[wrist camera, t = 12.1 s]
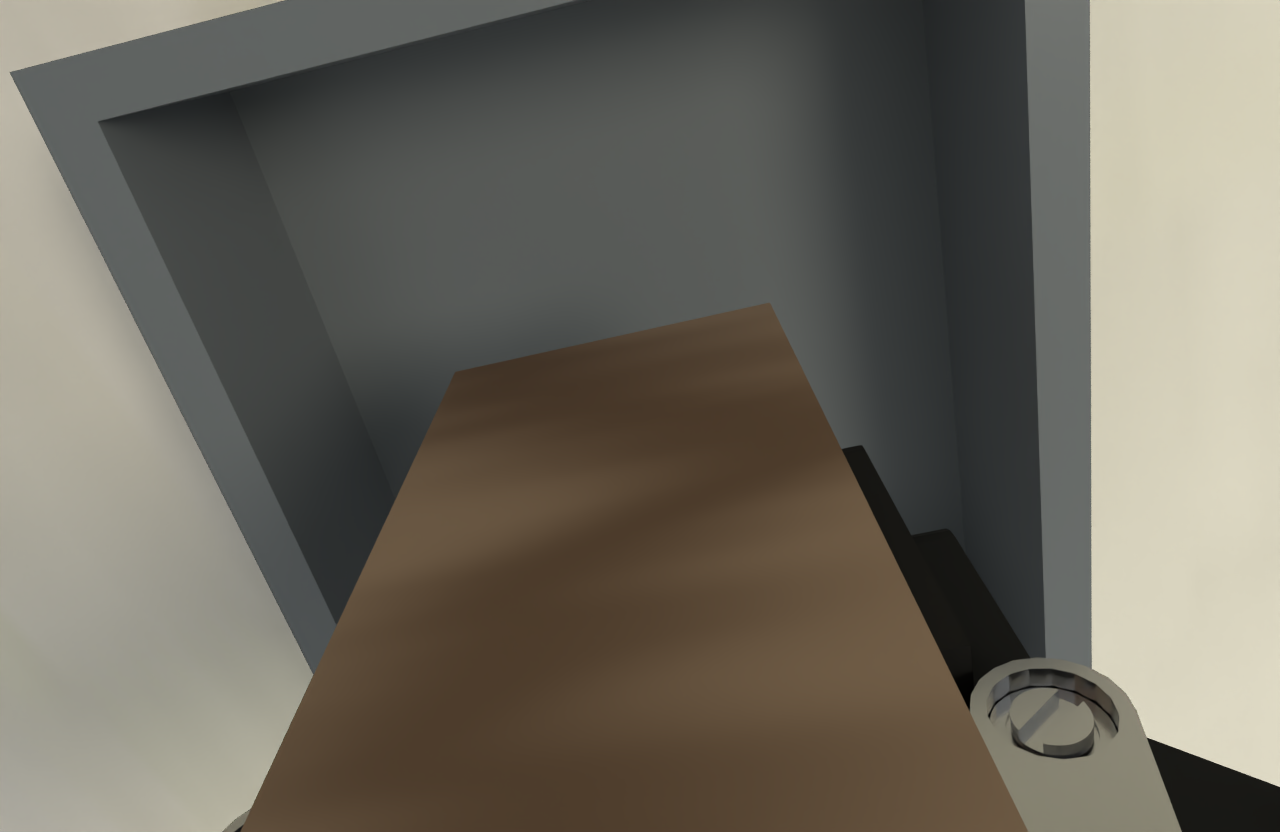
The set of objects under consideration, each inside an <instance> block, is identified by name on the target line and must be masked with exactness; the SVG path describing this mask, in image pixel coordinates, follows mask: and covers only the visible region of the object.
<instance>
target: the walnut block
mask: <svg viewBox="0 0 1280 832" xmlns="http://www.w3.org/2000/svg"><path fill="white" fill-rule="evenodd" d="M240 832H1028V830H1027V828H1026V826H1025V824H1024V822H1023V820H1022V818H1021V816H1020V814H1019V812H1018V810H1017V808H1016V806H1015V804H1014V802H1013V800H1012V797H1011V795H1010V793H1009V791H1008V789H1007V787H1006V785H1005V783H1004V781H1003V779H1002V777H1001V775H1000V773H999V771H998V769H997V767H996V765H995V763H994V761H993V759H992V757H991V754H990V752H989V750H988V748H987V746H986V744H985V742H984V740H983V738H982V736H981V734H980V732H979V730H978V728H977V726H976V724H975V722H974V720H973V718H972V716H971V713H970V711H969V709H968V707H967V705H966V703H965V701H964V699H963V697H962V695H961V693H960V691H959V689H958V687H957V685H956V683H955V681H954V679H953V677H952V675H951V673H950V670H949V668H948V666H947V664H946V662H945V660H944V658H943V656H942V654H941V652H940V650H939V648H938V646H937V644H936V642H935V640H934V638H933V636H932V634H931V632H930V629H929V627H928V625H927V623H926V621H925V619H924V617H923V615H922V613H921V611H920V609H919V607H918V605H917V603H916V601H915V599H914V597H913V595H912V593H911V591H910V589H909V586H908V584H907V582H906V580H905V578H904V576H903V574H902V572H901V570H900V568H899V566H898V564H897V562H896V560H895V558H894V556H893V554H892V552H891V550H890V548H889V546H888V543H887V541H886V539H885V537H884V535H883V533H882V531H881V529H880V527H879V525H878V523H877V521H876V519H875V517H874V515H873V513H872V511H871V509H870V507H869V505H868V502H867V500H866V498H865V496H864V494H863V492H862V490H861V488H860V486H859V484H858V482H857V480H856V478H855V476H854V474H853V472H852V470H851V468H850V466H849V464H848V462H847V459H846V457H845V455H844V453H843V451H842V449H841V447H840V445H839V443H838V441H837V439H836V437H835V435H834V433H833V431H832V429H831V427H830V425H829V423H828V421H827V419H826V416H825V414H824V412H823V410H822V408H821V406H820V404H819V402H818V400H817V398H816V396H815V394H814V392H813V390H812V388H811V386H810V384H809V382H808V380H807V378H806V375H805V373H804V371H803V369H802V367H801V365H800V363H799V361H798V359H797V357H796V355H795V353H794V351H793V349H792V347H791V345H790V343H789V341H788V339H787V337H786V335H785V332H784V330H783V328H782V326H781V324H780V322H779V320H778V318H777V316H776V314H775V312H774V310H773V308H772V306H771V304H770V303H765V304H761V305H756V306H752V307H747V308H743V309H738V310H734V311H729V312H725V313H720V314H716V315H711V316H706V317H702V318H697V319H693V320H688V321H684V322H679V323H675V324H670V325H666V326H661V327H657V328H652V329H647V330H643V331H638V332H634V333H629V334H625V335H620V336H616V337H611V338H607V339H602V340H598V341H593V342H588V343H584V344H579V345H575V346H570V347H566V348H561V349H557V350H552V351H548V352H543V353H539V354H534V355H529V356H525V357H520V358H516V359H511V360H507V361H502V362H498V363H493V364H489V365H484V366H480V367H475V368H470V369H466V370H461V371H457V372H455V373H454V375H453V378H452V380H451V382H450V384H449V386H448V388H447V390H446V393H445V395H444V397H443V399H442V401H441V403H440V405H439V408H438V410H437V412H436V414H435V416H434V418H433V420H432V423H431V425H430V427H429V429H428V431H427V433H426V435H425V438H424V440H423V442H422V444H421V446H420V448H419V450H418V453H417V455H416V457H415V459H414V461H413V463H412V465H411V468H410V470H409V472H408V474H407V476H406V478H405V480H404V483H403V485H402V487H401V489H400V491H399V493H398V495H397V497H396V500H395V502H394V504H393V506H392V508H391V510H390V512H389V515H388V517H387V519H386V521H385V523H384V525H383V527H382V530H381V532H380V534H379V536H378V538H377V540H376V542H375V545H374V547H373V549H372V551H371V553H370V555H369V557H368V560H367V562H366V564H365V566H364V568H363V570H362V572H361V575H360V577H359V579H358V581H357V583H356V585H355V587H354V590H353V592H352V594H351V596H350V598H349V600H348V602H347V605H346V607H345V609H344V611H343V613H342V615H341V617H340V620H339V622H338V624H337V626H336V628H335V630H334V632H333V635H332V637H331V639H330V641H329V643H328V645H327V647H326V649H325V652H324V654H323V656H322V658H321V660H320V662H319V664H318V667H317V669H316V671H315V673H314V675H313V677H312V679H311V682H310V684H309V686H308V688H307V690H306V692H305V694H304V697H303V699H302V701H301V703H300V705H299V707H298V709H297V712H296V714H295V716H294V718H293V720H292V722H291V724H290V727H289V729H288V731H287V733H286V735H285V737H284V739H283V742H282V744H281V746H280V748H279V750H278V752H277V754H276V757H275V759H274V761H273V763H272V765H271V767H270V769H269V772H268V774H267V776H266V778H265V780H264V782H263V784H262V787H261V789H260V791H259V793H258V795H257V797H256V799H255V801H254V804H253V806H252V808H251V810H250V812H249V814H248V816H247V819H246V821H245V823H244V825H243V827H242V829H241V831H240Z"/></svg>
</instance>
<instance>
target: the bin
mask: <svg viewBox="0 0 1280 832" xmlns="http://www.w3.org/2000/svg"><path fill="white" fill-rule="evenodd" d="M10 74H11V76H12V78H13V80H14V82H15V84H16V86H17V88H18V90H19V92H20V94H21V96H22V98H23V100H24V102H25V104H26V106H27V108H28V110H29V112H30V114H31V115H32V117H33V119H34V121H35V123H36V125H37V127H38V129H39V131H40V133H41V135H42V137H43V139H44V141H45V143H46V145H47V147H48V149H49V151H50V153H51V155H52V157H53V159H54V161H55V163H56V165H57V167H58V169H59V171H60V173H61V175H62V177H63V179H64V181H65V183H66V185H67V187H68V189H69V191H70V193H71V195H72V197H73V199H74V201H75V203H76V205H77V207H78V209H79V211H80V213H81V215H82V217H83V219H84V221H85V223H86V225H87V227H88V229H89V230H90V232H91V234H92V236H93V238H94V240H95V242H96V244H97V246H98V248H99V250H100V252H101V254H102V256H103V258H104V260H105V262H106V264H107V266H108V268H109V270H110V272H111V274H112V276H113V278H114V280H115V282H116V284H117V286H118V288H119V290H120V292H121V294H122V296H123V298H124V300H125V302H126V304H127V306H128V308H129V310H130V312H131V314H132V316H133V318H134V320H135V322H136V324H137V326H138V328H139V330H140V332H141V334H142V336H143V338H144V340H145V342H146V344H147V345H148V347H149V349H150V351H151V353H152V355H153V357H154V359H155V361H156V363H157V365H158V367H159V369H160V371H161V373H162V375H163V377H164V379H165V381H166V383H167V385H168V387H169V389H170V391H171V393H172V395H173V397H174V399H175V401H176V403H177V405H178V407H179V409H180V411H181V413H182V415H183V417H184V419H185V421H186V423H187V425H188V427H189V429H190V431H191V433H192V435H193V437H194V439H195V441H196V443H197V445H198V447H199V449H200V451H201V453H202V455H203V457H204V459H205V460H206V462H207V464H208V466H209V468H210V470H211V472H212V474H213V476H214V478H215V480H216V482H217V484H218V486H219V488H220V490H221V492H222V494H223V496H224V498H225V500H226V502H227V504H228V506H229V508H230V510H231V512H232V514H233V516H234V518H235V520H236V522H237V524H238V526H239V528H240V530H241V532H242V534H243V536H244V538H245V540H246V542H247V544H248V546H249V548H250V550H251V552H252V554H253V556H254V558H255V560H256V562H257V564H258V566H259V568H260V570H261V572H262V574H263V575H264V577H265V579H266V581H267V583H268V585H269V587H270V589H271V591H272V593H273V595H274V597H275V599H276V601H277V603H278V605H279V607H280V609H281V611H282V613H283V615H284V617H285V619H286V621H287V623H288V625H289V627H290V629H291V631H292V633H293V635H294V637H295V639H296V641H297V643H298V645H299V647H300V649H301V651H302V653H303V655H304V657H305V659H306V661H307V663H308V665H309V667H310V669H311V671H312V673H313V675H314V673H315V671H316V669H317V667H318V664H319V662H320V660H321V658H322V656H323V654H324V652H325V649H326V647H327V645H328V643H329V641H330V639H331V637H332V635H333V632H334V630H335V628H336V626H337V624H338V622H339V620H340V617H341V615H342V613H343V611H344V609H345V607H346V605H347V602H348V600H349V598H350V596H351V594H352V592H353V590H354V587H355V585H356V583H357V581H358V579H359V577H360V575H361V572H362V570H363V568H364V566H365V564H366V562H367V560H368V557H369V555H370V553H371V551H372V549H373V547H374V545H375V542H376V540H377V538H378V536H379V534H380V532H381V530H382V527H383V525H384V523H385V521H386V519H387V517H388V515H389V512H390V510H391V508H392V506H393V504H394V502H395V500H396V497H397V495H398V493H399V491H400V489H401V487H402V485H403V483H404V480H405V478H406V476H407V474H408V472H409V470H410V468H411V465H412V463H413V461H414V459H415V457H416V455H417V453H418V450H419V448H420V446H421V444H422V442H423V440H424V438H425V435H426V433H427V431H428V429H429V427H430V425H431V423H432V420H433V418H434V416H435V414H436V412H437V410H438V408H439V405H440V403H441V401H442V399H443V397H444V395H445V393H446V390H447V388H448V386H449V384H450V382H451V380H452V378H453V375H454V373H455V372H457V371H461V370H466V369H470V368H475V367H480V366H484V365H489V364H493V363H498V362H502V361H507V360H511V359H516V358H520V357H525V356H529V355H534V354H539V353H543V352H548V351H552V350H557V349H561V348H566V347H570V346H575V345H579V344H584V343H588V342H593V341H598V340H602V339H607V338H611V337H616V336H620V335H625V334H629V333H634V332H638V331H643V330H647V329H652V328H657V327H661V326H666V325H670V324H675V323H679V322H684V321H688V320H693V319H697V318H702V317H706V316H711V315H716V314H720V313H725V312H729V311H734V310H738V309H743V308H747V307H752V306H756V305H761V304H765V303H770V304H771V306H772V308H773V310H774V312H775V314H776V316H777V318H778V320H779V322H780V324H781V326H782V328H783V330H784V332H785V335H786V337H787V339H788V341H789V343H790V345H791V347H792V349H793V351H794V353H795V355H796V357H797V359H798V361H799V363H800V365H801V367H802V369H803V371H804V373H805V375H806V378H807V380H808V382H809V384H810V386H811V388H812V390H813V392H814V394H815V396H816V398H817V400H818V402H819V404H820V406H821V408H822V410H823V412H824V414H825V416H826V419H827V421H828V423H829V425H830V427H831V429H832V431H833V433H834V435H835V437H836V439H837V441H838V443H839V445H840V447H841V449H844V448H849V447H854V446H858V445H862V446H863V447H864V449H865V451H866V452H867V454H868V456H869V458H870V460H871V462H872V463H873V465H874V467H875V469H876V471H877V473H878V475H879V476H880V478H881V480H882V482H883V484H884V486H885V488H886V489H887V491H888V493H889V495H890V497H891V499H892V500H893V502H894V504H895V506H896V508H897V510H898V512H899V513H900V515H901V517H902V519H903V521H904V523H905V524H906V526H907V528H908V530H909V532H910V534H911V535H915V534H920V533H925V532H930V531H935V530H940V529H945V528H946V529H948V530H950V531H951V532H952V533H953V535H954V536H955V537H956V539H957V541H958V542H959V544H960V545H961V547H962V549H963V550H964V552H965V553H966V555H967V557H968V558H969V560H970V561H971V563H972V565H973V566H974V568H975V569H976V571H977V573H978V574H979V576H980V577H981V579H982V581H983V582H984V584H985V585H986V587H987V589H988V590H989V592H990V594H991V595H992V597H993V598H994V600H995V602H996V603H997V605H998V606H999V608H1000V610H1001V611H1002V613H1003V614H1004V616H1005V618H1006V619H1007V621H1008V622H1009V624H1010V626H1011V627H1012V629H1013V630H1014V632H1015V634H1016V635H1017V637H1018V639H1019V640H1020V642H1021V643H1022V645H1023V647H1024V648H1025V650H1026V651H1027V653H1028V655H1029V656H1030V658H1036V657H1038V658H1051V659H1062V660H1066V661H1069V662H1073V663H1077V664H1080V665H1084V666H1087V667H1089V668H1091V669H1092V654H1091V310H1090V0H285V1H281V2H278V3H274V4H270V5H266V6H262V7H258V8H255V9H251V10H247V11H243V12H239V13H235V14H232V15H228V16H224V17H220V18H216V19H212V20H209V21H205V22H201V23H197V24H193V25H189V26H186V27H182V28H178V29H174V30H170V31H166V32H163V33H159V34H155V35H151V36H147V37H143V38H140V39H136V40H132V41H128V42H124V43H120V44H117V45H113V46H109V47H105V48H101V49H97V50H94V51H90V52H86V53H82V54H78V55H74V56H71V57H67V58H63V59H59V60H55V61H51V62H48V63H44V64H40V65H36V66H32V67H28V68H24V69H21V70H17V71H13V72H10Z"/></svg>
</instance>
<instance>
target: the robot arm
mask: <svg viewBox="0 0 1280 832" xmlns="http://www.w3.org/2000/svg"><path fill="white" fill-rule="evenodd" d="M842 451H843V453H844V455H845V457H846V459H847V462H848V464H849V466H850V468H851V470H852V472H853V474H854V476H855V478H856V480H857V482H858V484H859V486H860V488H861V490H862V492H863V494H864V496H865V498H866V500H867V502H868V505H869V507H870V509H871V511H872V513H873V515H874V517H875V519H876V521H877V523H878V525H879V527H880V529H881V531H882V533H883V535H884V537H885V539H886V541H887V543H888V546H889V548H890V550H891V552H892V554H893V556H894V558H895V560H896V562H897V564H898V566H899V568H900V570H901V572H902V574H903V576H904V578H905V580H906V582H907V584H908V586H909V589H910V591H911V593H912V595H913V597H914V599H915V601H916V603H917V605H918V607H919V609H920V611H921V613H922V615H923V617H924V619H925V621H926V623H927V625H928V627H929V629H930V632H931V634H932V636H933V638H934V640H935V642H936V644H937V646H938V648H939V650H940V652H941V654H942V656H943V658H944V660H945V662H946V664H947V666H948V668H949V670H950V673H951V675H952V677H953V679H954V681H955V683H956V685H957V687H958V689H959V691H960V693H961V695H962V697H963V699H964V701H965V703H966V705H967V707H968V709H969V711H970V713H971V716H972V718H973V720H974V722H975V724H976V726H977V728H978V730H979V732H980V734H981V736H982V738H983V740H984V742H985V744H986V746H987V748H988V750H989V752H990V754H991V757H992V759H993V761H994V763H995V765H996V767H997V769H998V771H999V773H1000V775H1001V777H1002V779H1003V781H1004V783H1005V785H1006V787H1007V789H1008V791H1009V793H1010V795H1011V797H1012V800H1013V802H1014V804H1015V806H1016V808H1017V810H1018V812H1019V814H1020V816H1021V818H1022V820H1023V822H1024V824H1025V826H1026V828H1027V830H1028V832H1280V787H1278V786H1275V785H1273V784H1270V783H1267V782H1265V781H1262V780H1259V779H1257V778H1254V777H1251V776H1249V775H1246V774H1243V773H1240V772H1238V771H1235V770H1232V769H1230V768H1227V767H1224V766H1222V765H1219V764H1216V763H1214V762H1211V761H1208V760H1206V759H1203V758H1200V757H1198V756H1195V755H1192V754H1189V753H1187V752H1184V751H1181V750H1179V749H1176V748H1173V747H1171V746H1168V745H1165V744H1163V743H1160V742H1157V741H1155V740H1152V739H1149V738H1147V737H1146V735H1145V732H1144V729H1143V727H1142V724H1141V721H1140V719H1139V716H1138V713H1137V711H1136V709H1135V707H1134V706H1133V704H1132V702H1131V701H1130V699H1129V697H1128V696H1127V694H1126V693H1125V692H1124V691H1123V690H1122V689H1121V688H1120V687H1118V686H1117V685H1116V684H1115V683H1114V682H1113V681H1112V680H1110V679H1109V678H1108V677H1106V676H1104V675H1102V674H1100V673H1098V672H1096V671H1095V670H1093V669H1091V668H1089V667H1087V666H1084V665H1080V664H1077V663H1073V662H1069V661H1066V660H1062V659H1051V658H1038V657H1036V658H1030V656H1029V655H1028V653H1027V651H1026V650H1025V648H1024V647H1023V645H1022V643H1021V642H1020V640H1019V639H1018V637H1017V635H1016V634H1015V632H1014V630H1013V629H1012V627H1011V626H1010V624H1009V622H1008V621H1007V619H1006V618H1005V616H1004V614H1003V613H1002V611H1001V610H1000V608H999V606H998V605H997V603H996V602H995V600H994V598H993V597H992V595H991V594H990V592H989V590H988V589H987V587H986V585H985V584H984V582H983V581H982V579H981V577H980V576H979V574H978V573H977V571H976V569H975V568H974V566H973V565H972V563H971V561H970V560H969V558H968V557H967V555H966V553H965V552H964V550H963V549H962V547H961V545H960V544H959V542H958V541H957V539H956V537H955V536H954V535H953V533H952V532H951V531H950V530H948V529H946V528H945V529H940V530H935V531H930V532H925V533H920V534H915V535H911V534H910V532H909V530H908V528H907V526H906V524H905V523H904V521H903V519H902V517H901V515H900V513H899V512H898V510H897V508H896V506H895V504H894V502H893V500H892V499H891V497H890V495H889V493H888V491H887V489H886V488H885V486H884V484H883V482H882V480H881V478H880V476H879V475H878V473H877V471H876V469H875V467H874V465H873V463H872V462H871V460H870V458H869V456H868V454H867V452H866V451H865V449H864V447H863V446H862V445H858V446H854V447H849V448H844V449H842ZM250 810H251V809H250ZM250 810H248V811H247V812H245V813H244V814H242V815H241V816H239V817H238V818H237V819H235V820H234V821H233V822H232V823H231V824H230V825H229V826H228V827H227V828H226V829H225V830H223V831H222V832H240V831H241V829H242V827H243V825H244V823H245V821H246V819H247V816H248V814H249V812H250Z"/></svg>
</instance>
